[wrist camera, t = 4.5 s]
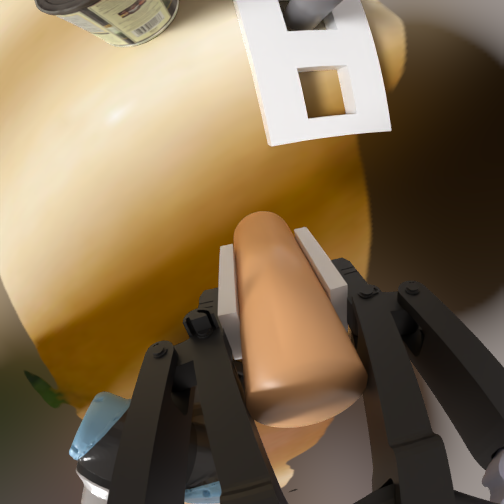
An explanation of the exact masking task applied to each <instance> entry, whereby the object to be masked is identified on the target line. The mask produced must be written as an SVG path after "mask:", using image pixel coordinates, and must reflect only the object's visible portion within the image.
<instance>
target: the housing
mask: <svg viewBox="0 0 504 504" xmlns="http://www.w3.org/2000/svg"><path fill="white" fill-rule="evenodd" d="M278 1H290V0H233V3H234V7H235V10H236V14H237V18H238V21H239V25H240V29H241V32H242V36H243V40H244V44H245V48H246V52H247V56H248V60H249V64H250V68H251V72H252V76H253V80H254V84H255V88H256V93H257V97H258V101H259V106H260V110H261V115H262V119H263V124H264V128H265V133H266V138H267V142H268V145H270V146H276V145H282V144H287V143H293V142H299V141H305V140H312V139H318V138H326V137H333V136H341V135H350V134H359V133H370V132H382V131H391V124H390V117H389V111H388V104H387V99H386V93H385V87H384V82H383V78H382V73H381V68H380V64H379V60H378V56H377V52H376V48H375V44H374V41H373V37H372V34H371V31H370V27H369V24H368V21H367V18H366V15H365V12H364V9H363V6H362V3H361V1H360V0H343V1H342V2H341V3H340V4H338V5H337V6H336V7H335V8H334V9H333V10H332V11H331V12H330V13H329V14H328V15H327V16H326V17H325V18H324V19H323V20H324V24H325V27H326V30H304V31H287V28H286V25H285V22H284V18H283V15H282V12H281V8H280V5H279V2H278ZM322 70H337V72H338V77H339V81H340V86H341V91H342V96H343V101H344V106H345V111H346V114H343V115H333V116H323V117H315V118H308V116H307V111H306V106H305V101H304V96H303V92H302V87H301V83H300V79H299V74H298V72H308V71H322Z"/></svg>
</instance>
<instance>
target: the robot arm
mask: <svg viewBox="0 0 504 504" xmlns="http://www.w3.org/2000/svg"><path fill="white" fill-rule="evenodd" d="M294 232H295V238H296V241H297V243H298V244H299V246H300V248H301V250H302V251H303V253H304V255H305V257H306V258H307V260H308V262H309V264H310V265H311V267H312V269H313V271H314V272H315V274H316V276H317V278H318V280H319V281H320V283H321V285H322V287H323V289H324V291H325V292H326V294H327V296H328V298H329V300H330V302H331V304H332V305H333V307H334V309H335V311H336V313H337V315H338V317H339V319H340V320H341V322H342V324H343V326H344V328H345V330H346V332H348V325H349V327H350V329H351V331H352V333H351V334H352V335H351V342H352V344H353V346H354V348H355V349H356V351H357V353H358V355H359V357H360V359H361V361H362V363H363V365H364V368H365V370H366V372H367V375H368V379H367V385H366V388H365V390H364V392H363V398H364V405H365V411H366V417H367V423H368V430H369V437H370V445H371V453H372V461H373V476H372V493H371V494H369V495H367V496H366V497H364V498H362V499H361V500H359V501H357V502H355V503H354V504H504V367H503V366H502V365H501V364H500V363H499V362H498V361H497V359H496V358H495V357H494V356H493V355H492V354H491V352H490V351H489V350H488V349H487V348H486V347H485V346H484V345H483V344H482V343H481V341H480V340H479V339H478V338H477V337H476V336H475V335H474V334H473V333H472V332H471V331H470V330H469V329H468V328H467V327H466V326H465V325H464V324H463V323H462V321H460V319H459V318H457V316H455V314H453V312H451V311H450V310H449V309H448V308H447V307H446V306H445V305H444V304H443V303H442V302H441V301H440V300H439V299H438V298H437V297H436V296H435V295H434V294H433V293H432V292H430V291H429V290H428V289H427V288H426V287H425V286H424V285H423V284H421V283H419V282H416V281H406V282H403V283H402V284H400V286H399V288H398V292H381V290H380V289H379V288H378V287H376V286H374V285H370V284H367V282H366V281H365V280H364V279H363V277H362V276H361V275H360V274H359V272H357V270H356V269H355V267H354V266H353V265H352V264H351V262H350V261H348V260H346V259H344V258H339V259H335V260H330V259H329V258H328V256H327V255H326V253H325V252H324V251H323V249H322V248H321V246H320V245H319V244H318V242H317V241H316V240H315V238H314V237H313V236H312V234H311V233H310V232H309V230H308V229H307V228H306V227H303V228H299V229H294ZM183 324H184V326H185V328H186V330H187V333H188V335H189V337H190V338H189V339H188V340H186V341H184V342H182V343H180V344H177V345H175V346H173V345H172V343H171V342H169V341H160V342H156V343H155V344H153V345H151V346H150V347H149V348H148V350H147V352H146V354H145V357H144V360H143V363H142V366H141V369H140V373H139V376H138V379H137V382H136V386H135V389H134V392H133V396H132V399H125V398H122V397H120V396H117V395H114V394H112V393H109V392H101V393H99V394H97V395H96V396H95V398H94V399H93V401H92V403H91V405H90V406H89V408H88V410H87V412H86V414H85V416H84V418H83V421H82V423H81V425H80V427H79V429H78V432H77V434H76V436H75V438H74V441H73V443H72V446H71V448H70V450H69V454H70V456H72V457H73V459H75V460H78V464H77V468H76V472H77V474H78V475H79V477H80V478H81V480H82V481H83V483H84V490H83V495H82V501H81V504H184V502H187V503H196V504H213V503H220V504H288V502H287V500H286V499H285V497H284V495H283V492H282V490H281V488H280V485H279V483H278V481H277V478H276V476H275V473H274V471H273V468H272V466H271V464H270V461H269V459H268V456H267V453H266V451H265V448H264V446H263V443H262V441H261V438H260V435H259V433H258V430H257V427H256V425H255V422H254V419H253V418H252V417H251V415H250V413H249V411H248V409H247V407H246V399H245V387H244V376H243V364H242V363H240V362H238V361H234V360H233V357H232V354H233V356H234V359H235V360H237V359H242V351H241V339H240V316H239V303H238V289H237V275H236V261H235V251H234V248H233V244H229V245H225V246H221V247H220V263H219V288H214V289H209V290H205V291H204V292H203V293H202V295H201V296H200V299H199V307H198V309H195V310H193V311H191V312H189V313H188V314H187V315H186V316H185V317H184V319H183ZM410 360H411V362H412V363H413V365H414V366H415V367H416V369H417V370H418V372H419V373H420V375H421V376H422V377H423V379H424V380H425V382H426V383H427V385H428V386H429V388H430V389H431V391H432V392H433V394H434V395H435V397H436V398H437V400H438V401H439V403H440V404H441V406H442V407H443V409H444V410H445V412H446V414H447V415H448V416H449V418H450V420H451V421H452V423H453V424H454V426H455V428H456V430H457V431H458V433H459V434H460V436H461V438H462V439H463V441H464V443H465V444H466V446H467V448H468V450H469V451H470V453H471V454H472V456H473V457H474V459H475V460H476V461H477V462H478V463H479V465H480V466H482V468H484V469H485V470H486V472H485V475H484V477H483V479H482V484H483V486H485V487H488V488H489V490H490V494H491V496H490V501H487V500H483V499H480V498H477V497H473V496H470V495H467V494H464V493H461V492H458V491H455V490H453V484H452V479H451V474H450V469H449V464H448V459H447V454H446V450H445V446H444V443H443V440H442V438H441V437H440V436H439V435H438V434H435V433H433V431H432V429H431V425H430V421H429V418H428V415H427V411H426V408H425V404H424V401H423V398H422V394H421V391H420V388H419V385H418V382H417V379H416V377H415V374H414V371H413V368H412V365H411V362H410Z"/></svg>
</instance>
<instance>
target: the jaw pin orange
mask: <svg viewBox="0 0 504 504" xmlns="http://www.w3.org/2000/svg"><path fill="white" fill-rule="evenodd" d="M234 251H235V261H236V275H237V289H238V303H239V316H240V339H241V351H242V364H243V376H244V387H245V399H246V407H247V409H248V411H249V413H250V415H251V417H252V418H253V419H254V420H256V421H257V422H259V423H261V424H264V425H268V426H272V427H281V428H292V427H301V426H307V425H311V424H315V423H318V422H321V421H324V420H327V419H329V418H331V417H333V416H335V415H337V414H339V413H341V412H342V411H344V410H345V409H347V408H348V407H350V405H352V404H353V403H354V402H355V401H356V400H357V399H358V398H359V397H360V396H361V395H362V393H363V392H364V390H365V388H366V385H367V379H368V375H367V372H366V370H365V368H364V365H363V363H362V361H361V359H360V357H359V355H358V353H357V351H356V349H355V348H354V346H353V344H352V342H351V340H350V338H349V336H348V334H347V332H346V330H345V328H344V326H343V324H342V322H341V320H340V319H339V317H338V315H337V313H336V311H335V309H334V307H333V305H332V304H331V302H330V300H329V298H328V296H327V294H326V292H325V291H324V289H323V287H322V285H321V283H320V281H319V280H318V278H317V276H316V274H315V272H314V271H313V269H312V267H311V265H310V264H309V262H308V260H307V258H306V257H305V255H304V253H303V251H302V250H301V248H300V246H299V244H298V243H297V241H296V239H295V237H294V236H293V234H292V232H291V231H290V229H289V227H288V225H287V224H286V222H285V221H284V220H283V219H282V218H281V217H280V216H278V215H276V214H274V213H272V212H266V211H260V212H255V213H252V214H250V215H248V216H246V217H245V218H244V219H242V220H241V221H240V223H239V224H238V225H237V227H236V230H235V233H234Z"/></svg>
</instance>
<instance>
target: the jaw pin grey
mask: <svg viewBox="0 0 504 504" xmlns="http://www.w3.org/2000/svg"><path fill="white" fill-rule="evenodd" d="M342 1H343V0H290V2H289V3H288V5H287V7H286V9H285V11H284V13H283V18H284V22H285V24H286V25H287V26H288V27H289V28H291V29H293V30H295V31H304V30H313V29H314V28H315V27H316V26H317V25H318V24H319V23H320V22H321V21H322V20H323V19H324V18H325V17H326V16H327V15H328V14H329V13H330V12H331V11H332V10H333V9H334V8H335V7H336V6H337V5H338V4H340V3H341V2H342Z"/></svg>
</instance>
